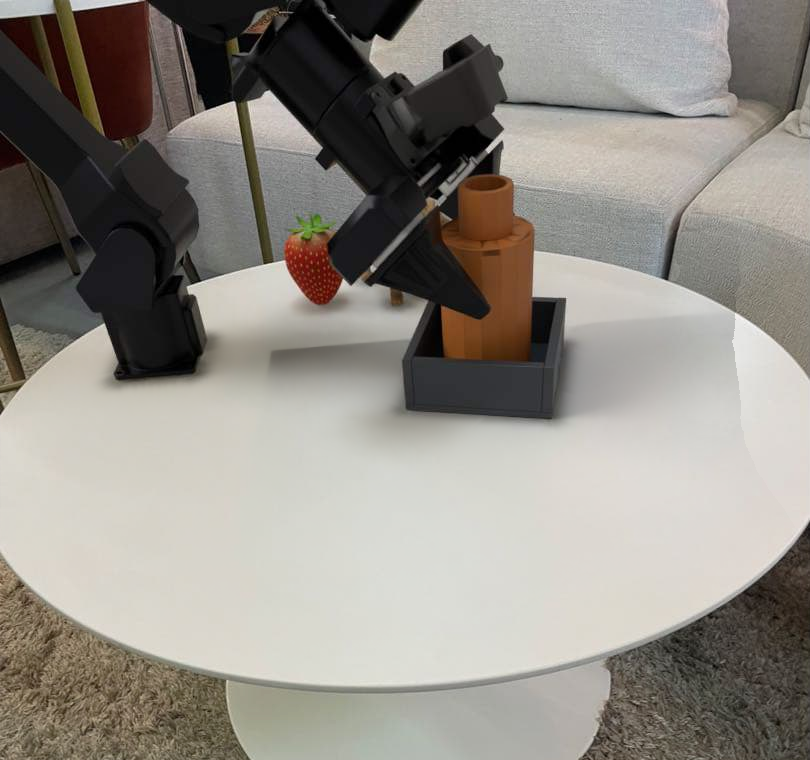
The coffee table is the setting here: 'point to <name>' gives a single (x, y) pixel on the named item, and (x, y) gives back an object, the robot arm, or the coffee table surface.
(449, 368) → the box
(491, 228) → the bottle
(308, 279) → the fruit
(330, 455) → the coffee table surface
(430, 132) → the robot arm
